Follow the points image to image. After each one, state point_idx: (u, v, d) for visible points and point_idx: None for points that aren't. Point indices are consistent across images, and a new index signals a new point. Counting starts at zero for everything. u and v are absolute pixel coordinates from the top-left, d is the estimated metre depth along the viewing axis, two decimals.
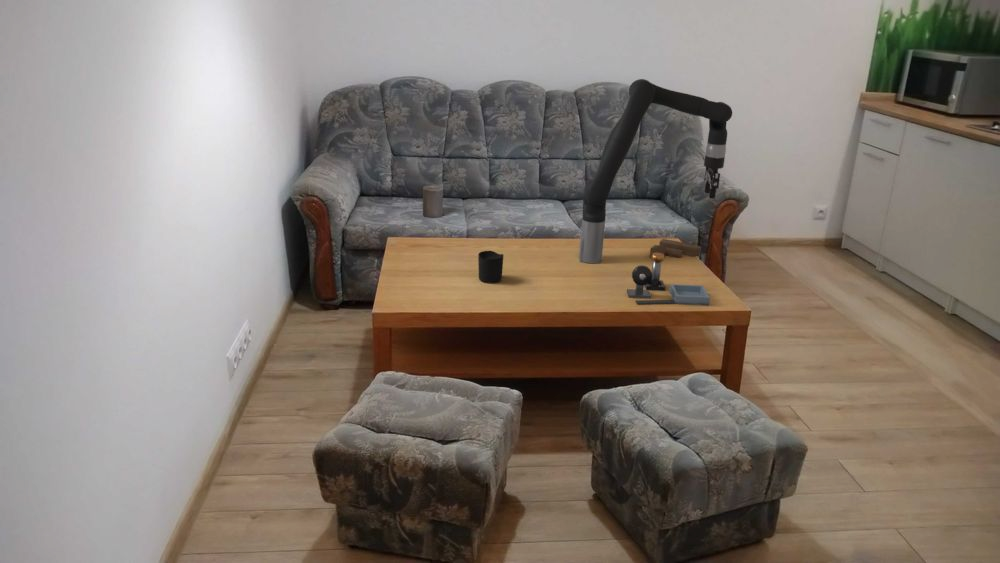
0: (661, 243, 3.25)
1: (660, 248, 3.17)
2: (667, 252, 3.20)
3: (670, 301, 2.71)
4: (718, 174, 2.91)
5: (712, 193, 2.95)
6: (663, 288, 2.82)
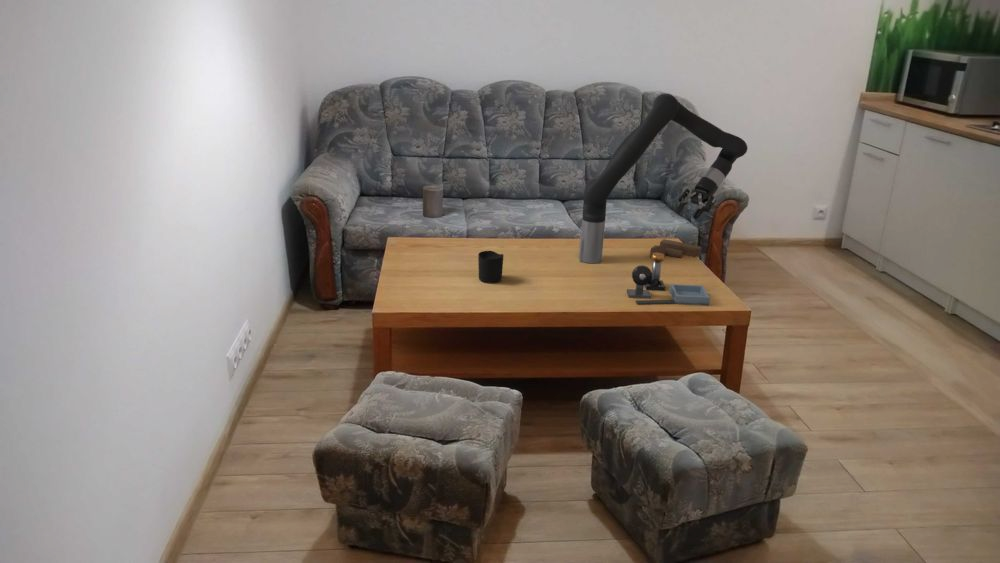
0: (661, 243, 3.25)
1: (661, 249, 3.17)
2: (667, 252, 3.20)
3: (670, 301, 2.71)
4: None
5: (699, 213, 2.82)
6: (663, 288, 2.82)
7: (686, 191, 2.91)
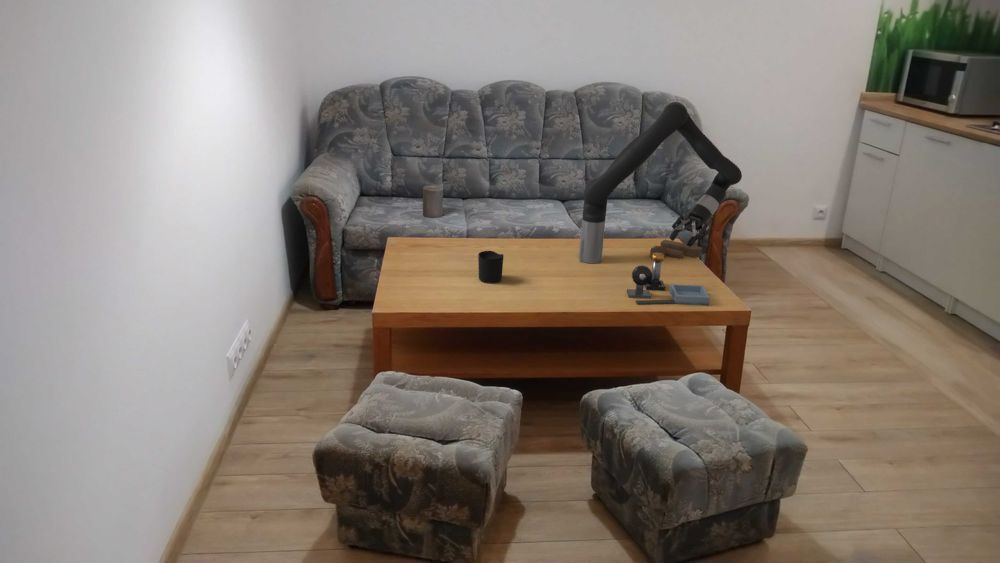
0: (662, 244, 3.25)
1: (661, 249, 3.16)
2: (668, 253, 3.19)
3: (670, 301, 2.71)
4: None
5: (692, 241, 2.81)
6: (663, 288, 2.82)
7: (680, 218, 2.90)
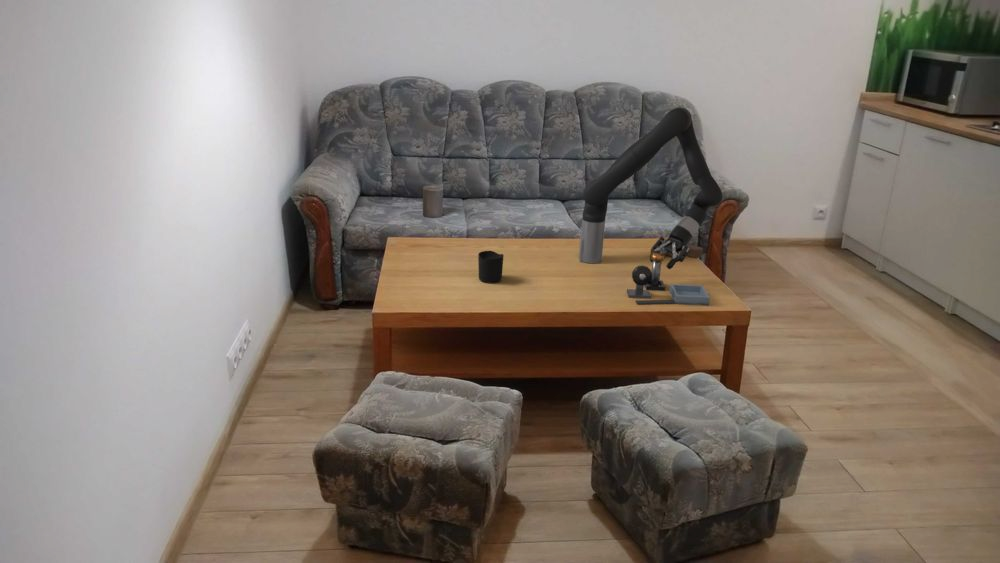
0: None
1: None
2: (668, 253, 3.19)
3: (670, 301, 2.71)
4: (689, 249, 2.79)
5: (672, 263, 2.79)
6: (663, 288, 2.82)
7: (660, 239, 2.88)
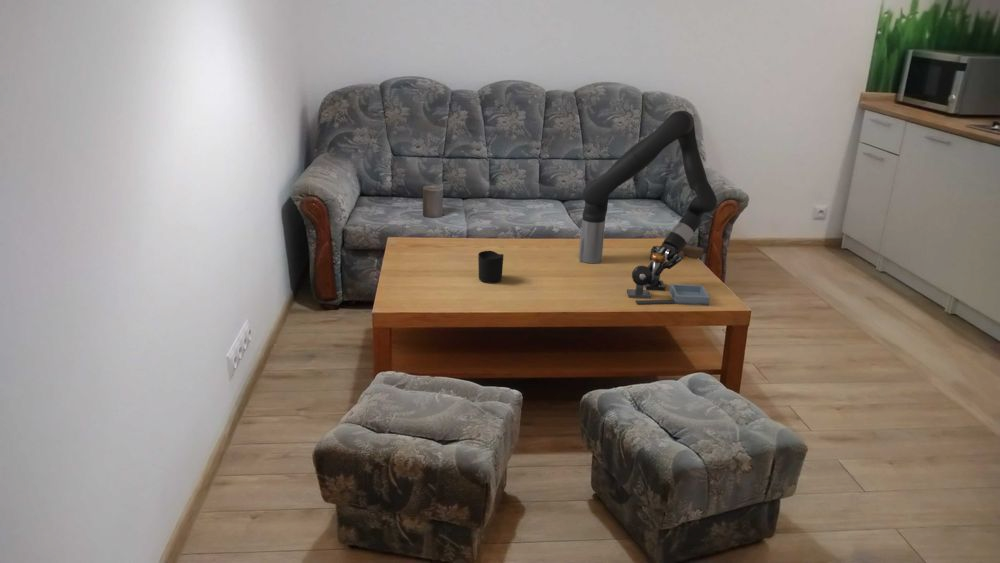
0: None
1: None
2: None
3: (670, 301, 2.71)
4: (680, 259, 2.78)
5: (660, 270, 2.80)
6: (663, 288, 2.82)
7: (654, 248, 2.86)
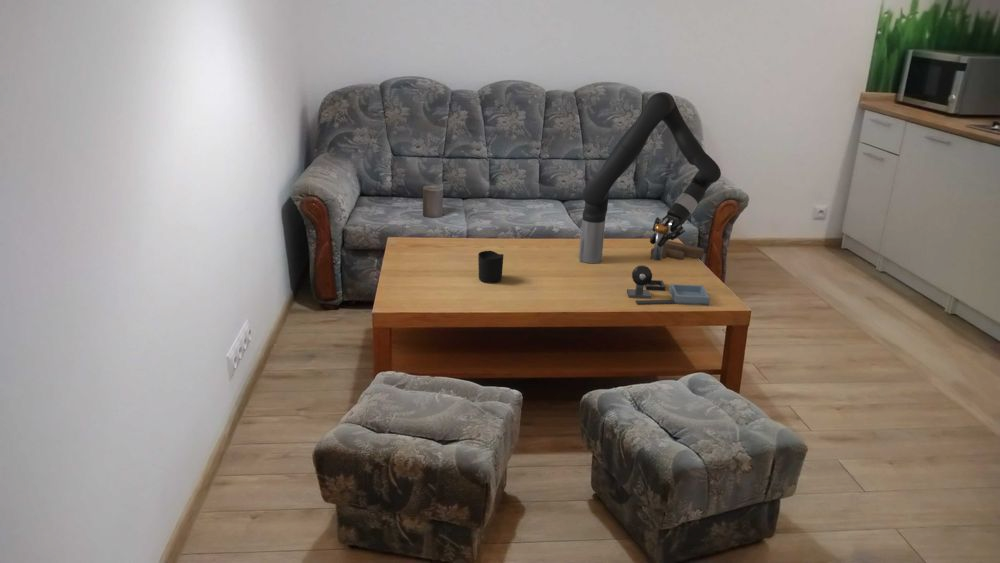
0: (664, 244, 3.24)
1: None
2: (669, 253, 3.18)
3: (670, 301, 2.71)
4: (683, 230, 2.74)
5: (663, 241, 2.76)
6: (663, 288, 2.82)
7: (657, 220, 2.83)
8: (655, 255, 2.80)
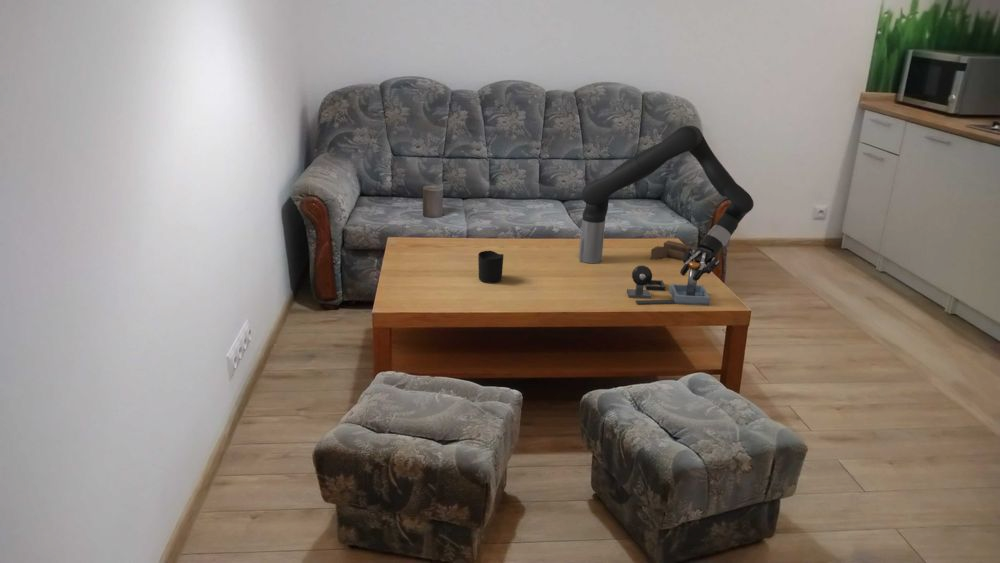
0: (665, 245, 3.23)
1: (662, 250, 3.15)
2: (669, 254, 3.18)
3: (670, 301, 2.71)
4: (719, 262, 2.68)
5: (699, 275, 2.69)
6: (663, 288, 2.82)
7: (689, 251, 2.76)
8: (688, 292, 2.74)
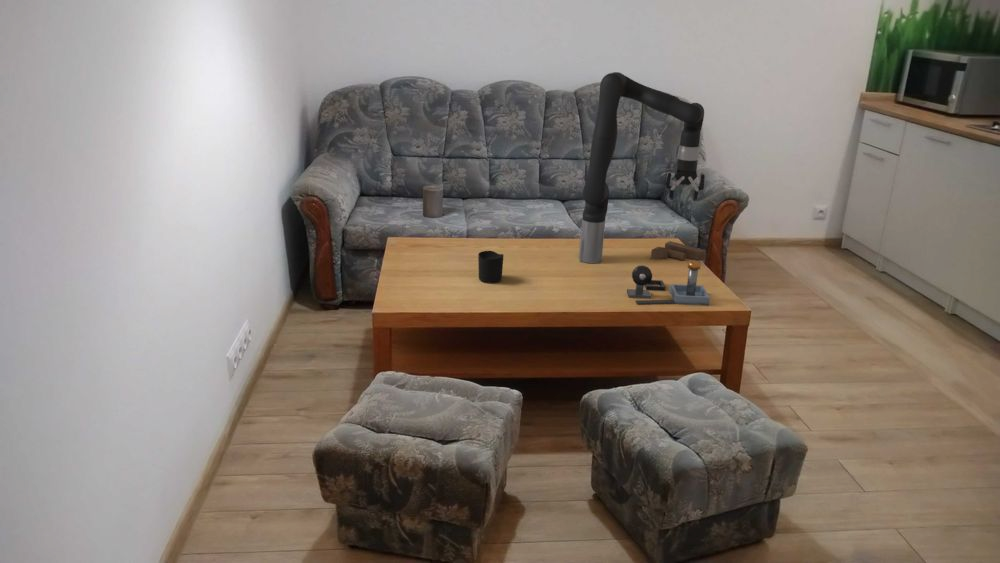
0: (666, 245, 3.23)
1: (662, 250, 3.15)
2: (670, 254, 3.17)
3: (670, 301, 2.71)
4: (703, 174, 2.86)
5: None
6: (663, 288, 2.82)
7: (670, 176, 2.85)
8: (688, 292, 2.74)
